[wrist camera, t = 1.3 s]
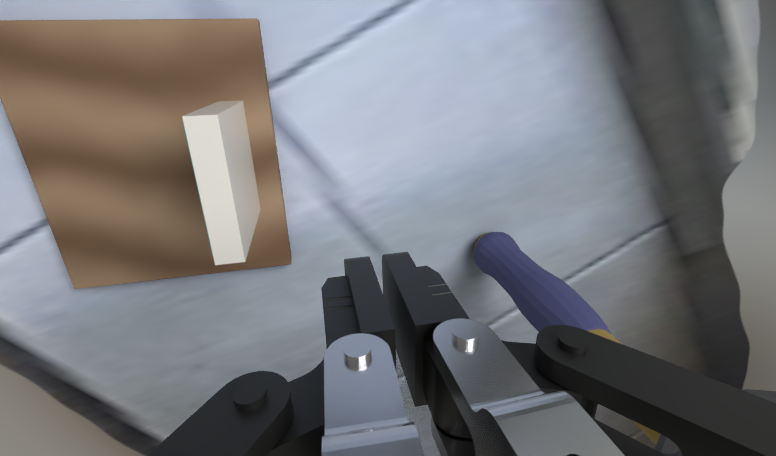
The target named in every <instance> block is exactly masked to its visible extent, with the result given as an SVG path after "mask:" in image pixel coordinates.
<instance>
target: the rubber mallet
mask: <svg viewBox="0 0 776 456" xmlns="http://www.w3.org/2000/svg"><path fill="white" fill-rule="evenodd" d="M474 260H475V263H476V264H477V266H478V267H479V268H480V269H481V270H482V271H483V272H484V273H486V274H488V275H490V276H492V277H493V278H494V279H495V280H496V281H497V282H498V283H499V284H500V285H501V286H502V287H503V288H504V289H505V290H506V292H507V293H508V294H509V295H510V296H511V297H512V299H513V301H514V302H515V304H516V305H517V307H518V308H519V310H520V311H521V313H522V314H523V315H524V316H525V318H526V319H527V320H528V321H529V322H530V323H531V324H532V325H533V326H534V327H535V328H536V330H537V331H538V332H540V331H541V330H542V329H543V328H545V327H548V326H552V325H568V326H573V327H577V328H580V329H583V330H586V331H588V332H591V333H594V334H596V335H599V336H602V337H604V338H607V339H609V340H612V341H615V342H617V343H620V342H619V341H618V340H616V339H615V338H614V337H613V336H612V335H611V332H610V331H609V329H608V327H607V326H606V324H605V323H604V322H603V320H602V319H601V318H600V316H599V315H598V314H597V313H596V312H595V311H594V310H593V309H592V308H591V307H590V305H589V304H588V303H587V302H586V301H585V300H584V299H583V298H582V297H581V296H580V295H579V294H578V293H576V292H575V291H574V290H573V289H572V288H571V287H570V286H569V285H567V284H566V283H565V282H564V281H562V280H561V279H559V278H558V277H556V276H554V275H553V274H551V273H549V272H547V271H546V270H544V269H543V268H541V267H540V266H538V265H537V264H536V263H535V262H534V261H533V260H531V259H530V258H529V257H528V256H527V255H526V254H524V253H523V252H522V251H521V250H520V249H519V247H518V245H517V244H516V242H515V241H514V240H513V238H511V237H510V236H509V235H507V234H505V233H503V232H491V233H487V234H484V235H482V236H481V237H479V238H478V240H477V241H476V243H475V244H474ZM620 344H621V343H620ZM743 391H745V392H748V393H750V394H753V395H756V396H758V397H761V398H764V399H766V400H769V401H771V402H774V403H776V392H775V391H761V390H748V389H747V390H743ZM632 421H633V420H632ZM633 422H634V423H635V424H636V425H637V426H638V427H639V428H640V429H641V430H642V431H643V432H644V433H645V434H646V435H647V436H648V437H649V438H650V439H651V440H652V441H653V443H654V444H655V445H656V447H655V450H656V451H658V452H661V453H665V454H673V453H676V452H678V451H679V450H680V449H679V448H678V446H677V445H676V444H675V443H674V442H673V441H671V440H670V439H669V438H667V437H666V436H664V435H662V434H660V433H658V432H656V431H654V430H652V429H650V428H648V427H645V426H643V425H641V424H639V423H637V422H635V421H633Z"/></svg>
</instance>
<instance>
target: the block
mask: <svg viewBox="0 0 776 456" xmlns="http://www.w3.org/2000/svg"><path fill="white" fill-rule="evenodd" d="M182 118H183V123H184V124H183V127H184V131H185V136H186V140H187V144H188V149H189V153H190V158H191V162H192V167H193V171H194V176H195V180H196V185H197V189H198V194H199V198H200V203H201V207H202V212H203V216H204V221H205V225H206V230H207V234H208V239H209V243H210V247H211V252H212V256H213V258H214V262H215V265H222V264H231V263H240V262H245V261H246V258H247V254H248V251H249V247H250V244H251V241H252V237H253V234H254V230H255V227H256V223H257V220H258V217H259V213H260V210H261V208H260V202H259V196H258V190H257V184H256V177H255V171H254V165H253V159H252V153H251V147H250V140H249V134H248V128H247V122H246V116H245V110H244V103H243V100H241V101H219V102H216V103H214V104H211V105H209V106H206V107H204V108H201V109H199V110H196V111H194V112H191V113H189V114H186V115H184V116H182Z"/></svg>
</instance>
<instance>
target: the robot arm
mask: <svg viewBox="0 0 776 456" xmlns="http://www.w3.org/2000/svg"><path fill="white" fill-rule="evenodd" d="M344 267H345V276H340V277H332V278H328V279H327V281H326V282H325V284H324V285H323V287H322V299H323V310H324V321H325V333H326V344H327V350H326V352H325V355H324V359H323V360H322V362H321V363H320V364H319V365H318V366H317V367H316V368H315V369H313V370H312V371H311V372H309V373H307V374H306V375H304V376H302V377H299V378H297V379H295V380H292V381H290V382H287V381H286V379H285V378H284V377H282V376H281V375H279V374H277V373H274V372H268V371H258V372H252V373H248V374H245V375H242V376H240V377H238V378H236V379H234V380H232V381H230V382H229V383H227V384H226V385H225V386H224V387H223V388H221V389H220V390H219V391H218V392H217V393H216V394H215V395H214V396H213V397H212V398H210V399H209V400H208V401H207V402H206V403H205V404H204V405H203V406H202V407H201V408H199V409H198V410H197V411H196V412H195V413H194V414H193V415H192V416H191V417H190V418H188V419H187V420H186V421H185V422H184V423H183V424H182V425H181V426H180V427H178V428H177V429H176V430H175V431H174V432H173V433H172V434H171V435H170V436H169V437H167V438H166V439H165V440H164V441H163V442H162V443H161V444H160V445H159V446H158V447H156V448H155V449H154V450H153V451H152V452H151V453H150V454H149V455H148V456H424V454H423V450H422V447H421V443H420V439H419V435H418V432H417V429H416V426H415V424H414V423H413V422H408V419H407V415H406V411H405V407H404V402H403V398H402V394H401V390H400V386H399V382H398V378H397V374H396V350H397V353H398V356H399V359H400V362H401V365H402V368H403V371H404V374H405V377H406V380H407V383H408V386H409V389H410V392H411V395H412V398H413V401H414V404H415V407H417V406H422V405H427V404H428V406H429V409H430V411H431V431H432V435H433V438H434V440H435V443H436V445H437V448H438V450H439V452H440V455H441V456H776V403H774V402H771V401H769V400H766V399H764V398H761V397H758V396H756V395H753V394H750V393H748V392H745V391H743V390H740V389H737V388H735V387H732V386H730V385H727V384H724V383H722V382H719V381H717V380H714V379H711V378H709V377H706V376H703V375H701V374H698V373H696V372H693V371H690V370H688V369H685V368H683V367H680V366H677V365H675V364H672V363H669V362H667V361H664V360H662V359H659V358H656V357H654V356H651V355H649V354H646V353H643V352H641V351H638V350H636V349H633V348H630V347H628V346H625V345H622V344H620V343H617V342H615V341H612V340H609V339H607V338H604V337H602V336H599V335H596V334H594V333H591V332H588V331H586V330H583V329H580V328H577V327H573V326H568V325H552V326H548V327H545V328H543V329H542V330H541V331H540V332H539V333H538V335H537V339H536V344H531V343H517V342H506V341H501V340H500V339H499V337H498V336H497V335H496V334H495V332H494V331H493V330H492V329H491V328H489V327H488V326H487V325H485V324H483V323H481V322H478V321H475V320H471V319H469V317H468V316H467V314H466V313H465V311H464V310H463V308H462V307H461V305H460V304H459V302H458V301H457V299H456V298H455V296H454V295H453V293H451V290H450V289H449V287H448V286H447V285H446V283H445V281H444V280H443V278H442V277H441V275H440V274H439V273H438V272H436V271H434V270H433V269H431V268H430V267H428V266H421V267H416V265H415V264H414V262H413V260H412V258H411V257H410V255H409V253H408V252H402V253H393V254H385V255H383V256H382V275H383V293H382V291H381V288H380V285H379V282H378V279H377V277H376V274H375V271H374V268H373V265H372V263H371V260H370V257H369V256H368V257H359V258H350V259H344ZM598 404H600V405H602V406H604V407H606V408H608V409H610V410H612V411H615V412H617V413H619V414H621V415H623V416H625V417H627V418H629V419H631V420H633V421H635V422H637V423H639V424H641V425H643V426H645V427H648V428H650V429H652V430H654V431H656V432H658V433H660V434H662V435H664V436H666V437H667V438H669V439H670V440H671V441H673V442H674V443H675V444H676V445H677V446H678V448H679V449H680V450H679V451H678V452H676V453H673V454H665V453H661V452H658V451H656V450H654V449H652V448H650V447H648V446H646V445H644V444H642V443H640V442H638V441H637V440H635V439H633V438H631V437H629V436H627V435H625V434H623V433H621V432H619V431H617V430H615V429H613V428H611V427H609V426H607V425H605V424H603V423H601V422H599V421H597V420H595V419H594V418H595V413H596V409H597V405H598Z"/></svg>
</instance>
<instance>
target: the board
mask: <svg viewBox="0 0 776 456" xmlns="http://www.w3.org/2000/svg"><path fill="white" fill-rule="evenodd" d="M0 98H1V101H2V103H3V106H4V109H5V111H6V114H7V116H8V119H9V121H10V124H11V127H12V129H13V132H14V134H15V137H16V139H17V142H18V145H19V147H20V150H21V152H22V155H23V157H24V160H25V163H26V165H27V168H28V170H29V173H30V175H31V178H32V181H33V183H34V186H35V188H36V191H37V193H38V196H39V199H40V201H41V204H42V206H43V209H44V211H45V214H46V217H47V219H48V222H49V224H50V227H51V229H52V232H53V235H54V237H55V240H56V242H57V245H58V247H59V250H60V253H61V255H62V258H63V260H64V263H65V265H66V268H67V271H68V273H69V276H70V278H71V281H72V283H73V286H74V289H80V288H88V287H97V286H106V285H114V284H123V283H132V282H141V281H149V280H158V279H167V278H175V277H184V276H193V275H202V274H210V273H219V272H228V271H236V270H245V269H254V268H263V267H271V266H280V265H289V264H291V251H290V243H289V236H288V229H287V221H286V214H285V207H284V199H283V192H282V185H281V177H280V170H279V163H278V155H277V148H276V141H275V133H274V126H273V119H272V111H271V104H270V97H269V89H268V82H267V75H266V67H265V60H264V53H263V45H262V38H261V31H260V24H259V20H258V19H145V20H12V21H0ZM241 100H243V103H244V110H245V116H246V122H247V128H248V134H249V140H250V147H251V153H252V159H253V165H254V171H255V177H256V184H257V190H258V196H259V202H260V208H261V210H260V213H259V217H258V220H257V223H256V227H255V230H254V234H253V237H252V241H251V244H250V247H249V251H248V254H247V258H246V261H245V262H240V263H231V264H222V265H215V262H214V258H213V256H212V252H211V247H210V243H209V239H208V234H207V230H206V225H205V221H204V216H203V212H202V207H201V203H200V198H199V194H198V189H197V185H196V180H195V176H194V171H193V167H192V162H191V158H190V153H189V149H188V144H187V140H186V136H185V131H184V127H183V124H184V123H183V118H182V116H184V115H186V114H189V113H191V112H194V111H196V110H199V109H201V108H204V107H206V106H209V105H211V104H214V103H216V102H219V101H241Z"/></svg>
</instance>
